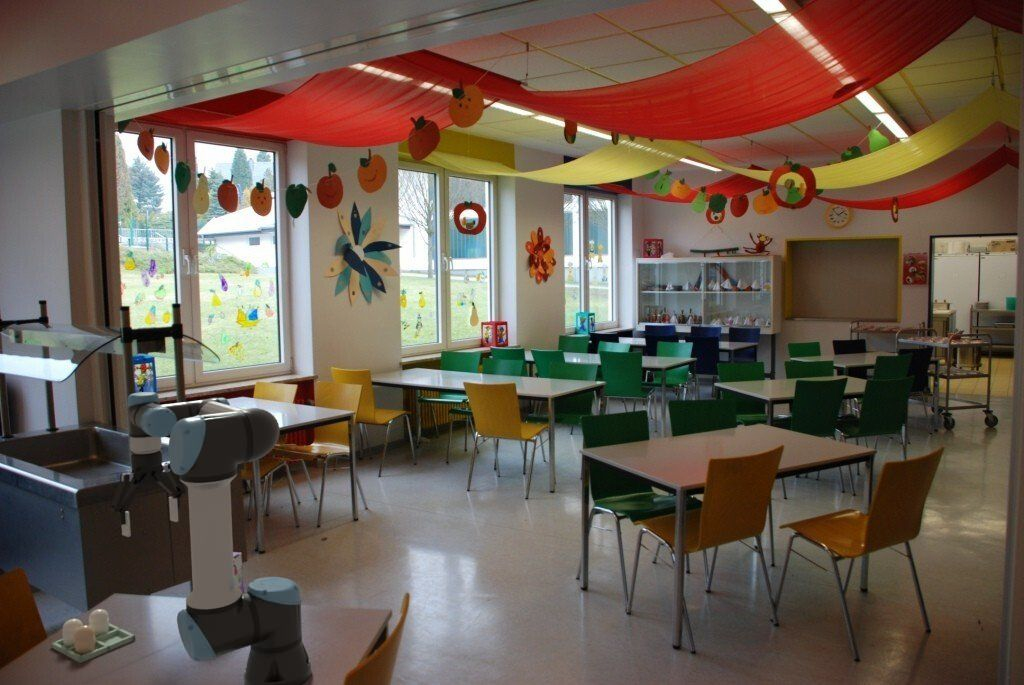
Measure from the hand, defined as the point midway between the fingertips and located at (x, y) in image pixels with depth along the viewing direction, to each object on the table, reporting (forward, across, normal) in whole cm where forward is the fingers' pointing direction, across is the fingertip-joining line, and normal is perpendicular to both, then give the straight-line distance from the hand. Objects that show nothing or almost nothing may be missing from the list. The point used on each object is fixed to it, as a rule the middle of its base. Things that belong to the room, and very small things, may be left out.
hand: (151, 528), depth 209 cm
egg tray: (+27, +16, -2) cm, 31 cm away
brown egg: (+26, +20, +1) cm, 33 cm away
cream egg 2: (+26, +13, -5) cm, 30 cm away
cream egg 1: (+26, +19, -5) cm, 33 cm away
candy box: (+27, -12, +12) cm, 32 cm away
